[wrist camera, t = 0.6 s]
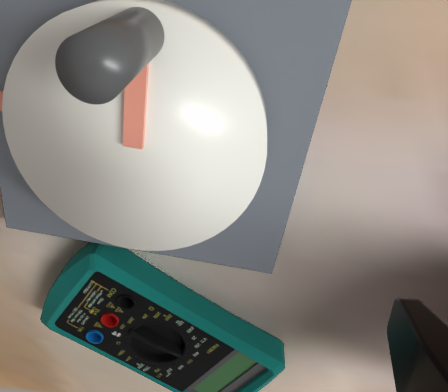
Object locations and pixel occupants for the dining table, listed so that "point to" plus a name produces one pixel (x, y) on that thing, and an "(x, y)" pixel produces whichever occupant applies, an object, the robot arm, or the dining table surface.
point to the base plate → (274, 104)
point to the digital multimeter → (157, 325)
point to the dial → (137, 123)
